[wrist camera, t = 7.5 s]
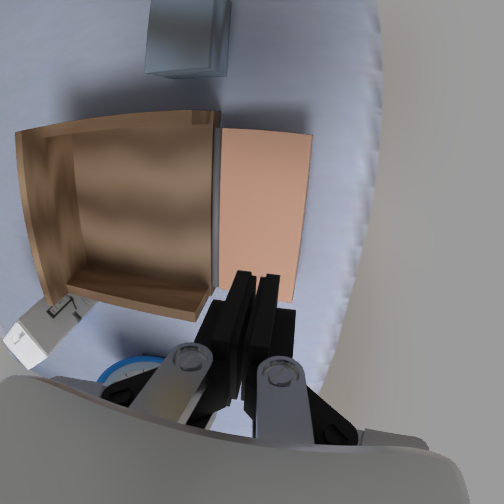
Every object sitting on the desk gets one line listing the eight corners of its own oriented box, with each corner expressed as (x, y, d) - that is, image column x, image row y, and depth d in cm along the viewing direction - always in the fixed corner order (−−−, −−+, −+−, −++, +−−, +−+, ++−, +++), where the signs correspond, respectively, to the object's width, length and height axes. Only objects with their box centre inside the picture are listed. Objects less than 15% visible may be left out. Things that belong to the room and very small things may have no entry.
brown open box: (78, 121, 24) (15, 132, 16) (220, 111, 22) (179, 109, 14) (93, 264, 31) (47, 304, 23) (217, 284, 29) (187, 342, 21)
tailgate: (212, 127, 20) (311, 135, 19) (217, 127, 21) (312, 134, 19) (211, 286, 26) (291, 303, 25) (214, 281, 27) (292, 298, 25)
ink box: (76, 318, 36) (28, 373, 25) (54, 291, 34) (1, 341, 24) (105, 296, 32) (48, 359, 22) (80, 264, 31) (15, 320, 21)
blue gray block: (178, 7, 18) (152, -11, 14) (232, 2, 18) (215, -21, 13) (173, 79, 21) (144, 73, 17) (227, 77, 21) (208, 67, 16)
